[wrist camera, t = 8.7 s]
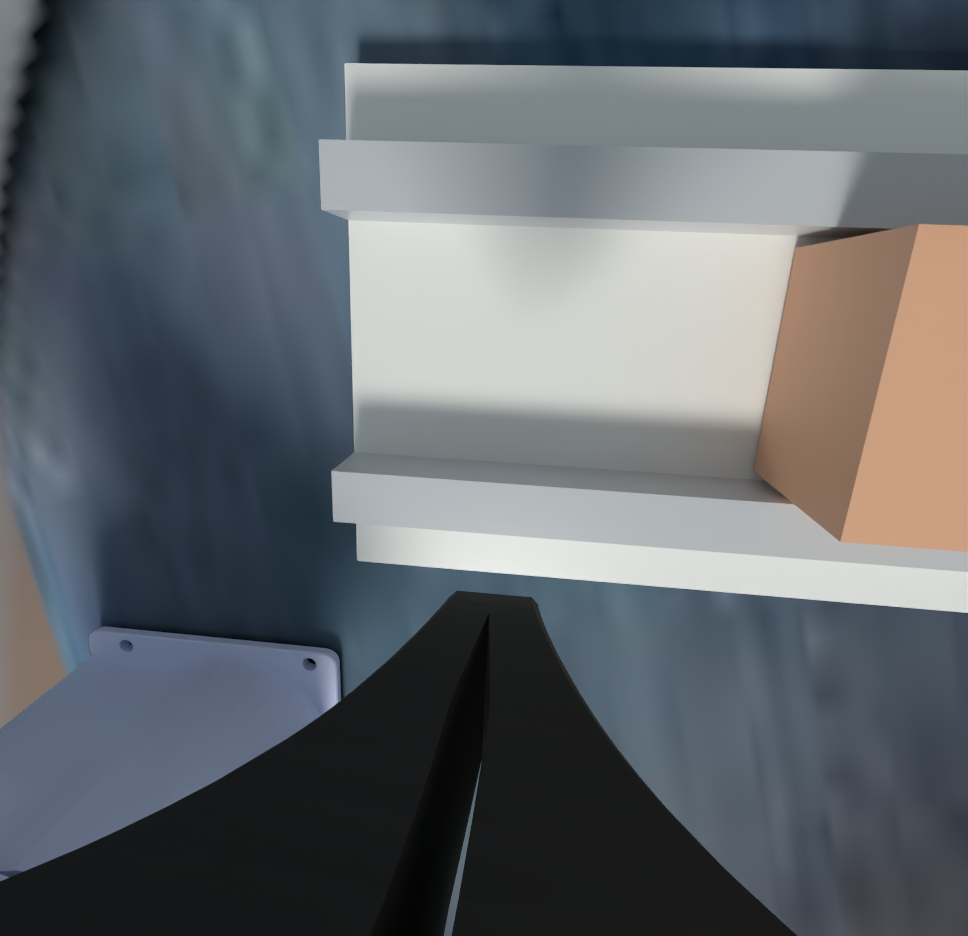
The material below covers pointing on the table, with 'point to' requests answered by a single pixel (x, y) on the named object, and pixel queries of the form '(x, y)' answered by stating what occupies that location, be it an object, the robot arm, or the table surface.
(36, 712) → the robot arm
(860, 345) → the block
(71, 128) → the table surface
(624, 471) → the chute
